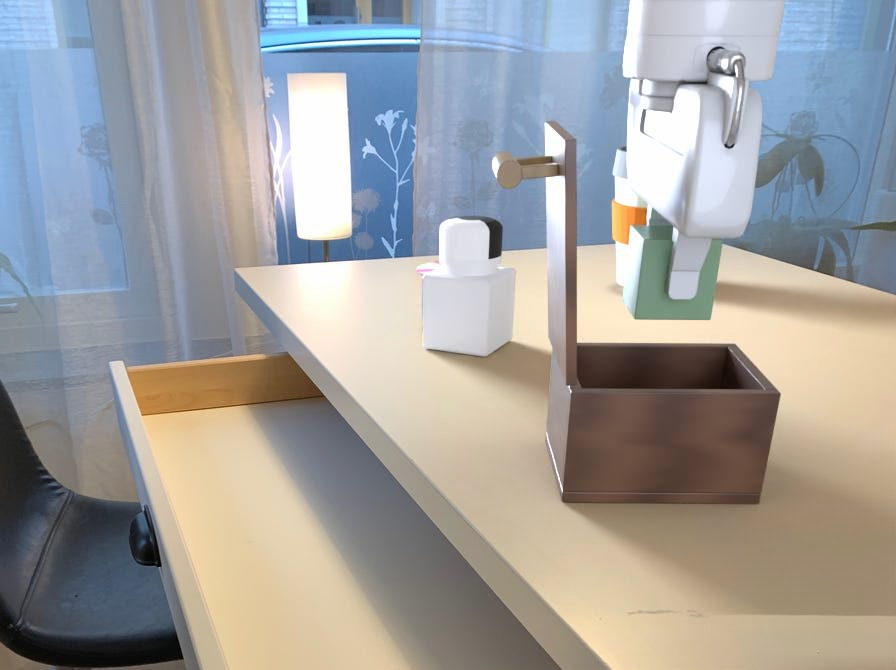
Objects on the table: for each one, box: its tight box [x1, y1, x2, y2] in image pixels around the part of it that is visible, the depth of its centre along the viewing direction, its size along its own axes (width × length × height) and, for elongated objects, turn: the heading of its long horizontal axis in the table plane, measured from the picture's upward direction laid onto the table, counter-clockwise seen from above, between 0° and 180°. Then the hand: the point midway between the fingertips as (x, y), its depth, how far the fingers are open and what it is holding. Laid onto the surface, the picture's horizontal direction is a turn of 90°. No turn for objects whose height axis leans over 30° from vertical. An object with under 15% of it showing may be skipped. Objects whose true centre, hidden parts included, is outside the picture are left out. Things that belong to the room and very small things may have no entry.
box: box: [545, 342, 782, 505], centre depth 73 cm, size 14×12×8 cm
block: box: [622, 225, 724, 321], centre depth 67 cm, size 5×5×5 cm
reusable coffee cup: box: [611, 144, 648, 287], centre depth 123 cm, size 13×12×15 cm
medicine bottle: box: [421, 214, 517, 357], centre depth 100 cm, size 7×7×12 cm
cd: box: [416, 260, 442, 276], centre depth 132 cm, size 11×11×1 cm
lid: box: [491, 120, 578, 386], centre depth 67 cm, size 14×12×4 cm
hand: (669, 285), depth 68 cm, fingers closed on block, 5 cm apart
